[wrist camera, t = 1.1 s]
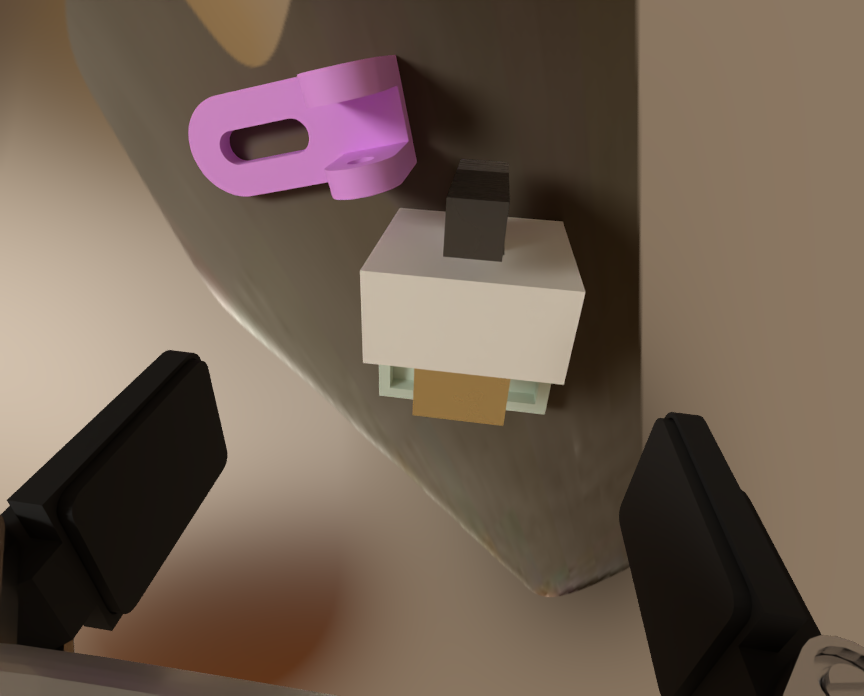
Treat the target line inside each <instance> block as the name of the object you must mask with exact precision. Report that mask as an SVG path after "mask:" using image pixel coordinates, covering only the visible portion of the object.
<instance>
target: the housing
mask: <svg viewBox="0 0 864 696" xmlns="http://www.w3.org/2000/svg"><path fill="white" fill-rule="evenodd" d="M445 215H446V212H443V211H431V210H419V209H407V208H399V210H398V212H397V213H396V215H395V216H394V218H393V220H392V221H391V223H390V224H389V226H388V227H387V229H386V231H385V232H384V234H383V235H382V237H381V238H380V240H379V242H378V243H377V245H376V246H375V248H374V249H373V251H372V253H371V254H370V256H369V257H368V259H367V261H366V262H365V264H364V265H363V267H362V268H361V270H360V284H361V314H362V344H363V363H370V364H379V365H388V366H397V367H406V368H416V369H425V370H434V371H443V372H452V373H461V374H470V375H479V376H488V377H497V378H506V379H515V380H524V381H533V382H542V383H552V384H561V385H564V382H565V377H566V373H567V369H568V365H569V360H570V356H571V352H572V348H573V343H574V339H575V335H576V331H577V326H578V322H579V318H580V314H581V309H582V305H583V301H584V296H585V289H584V286H583V283H582V280H581V277H580V273H579V270H578V267H577V264H576V261H575V258H574V255H573V252H572V249H571V246H570V243H569V240H568V236H567V233H566V230H565V227H564V224H563V222H562V221H550V220H538V219H526V218H514V217H508V219H507V227H506V235H505V242H504V250H503V258H502V262H496V261H485V260H474V259H463V258H452V257H443V247H444V231H445Z"/></svg>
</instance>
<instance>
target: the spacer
mask: <svg viewBox="0 0 864 696" xmlns="http://www.w3.org/2000/svg"><path fill="white" fill-rule="evenodd" d="M510 380H511V379H506V378H497V377H488V376H479V375H470V374H461V373H452V372H443V371H434V370H425V369H416V368H414V390H413V415H416V416H425V417H433V418H442V419H450V420H459V421H467V422H476V423H484V424H492V425H501V426H503V423H504V417H505V411H506V405H507V399H508V392H509V386H510Z"/></svg>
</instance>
